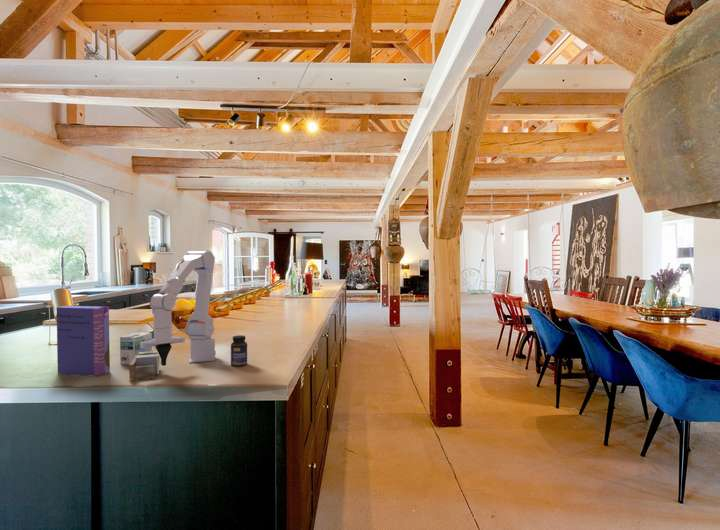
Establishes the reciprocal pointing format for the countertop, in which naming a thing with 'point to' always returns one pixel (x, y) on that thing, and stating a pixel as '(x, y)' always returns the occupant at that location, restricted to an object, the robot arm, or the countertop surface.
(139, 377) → the shelf
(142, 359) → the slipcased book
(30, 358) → the countertop surface
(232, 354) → the pill bottle
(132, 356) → the light bulb box
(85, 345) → the cereal box
